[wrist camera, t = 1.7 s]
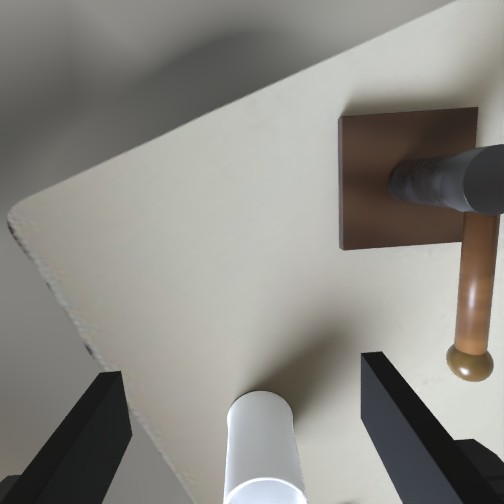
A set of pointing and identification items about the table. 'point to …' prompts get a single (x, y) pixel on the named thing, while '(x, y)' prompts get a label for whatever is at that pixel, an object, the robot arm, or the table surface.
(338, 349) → the table surface
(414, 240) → the valve stand
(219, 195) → the table surface
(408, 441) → the robot arm
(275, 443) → the mug
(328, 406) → the table surface
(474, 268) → the handle
